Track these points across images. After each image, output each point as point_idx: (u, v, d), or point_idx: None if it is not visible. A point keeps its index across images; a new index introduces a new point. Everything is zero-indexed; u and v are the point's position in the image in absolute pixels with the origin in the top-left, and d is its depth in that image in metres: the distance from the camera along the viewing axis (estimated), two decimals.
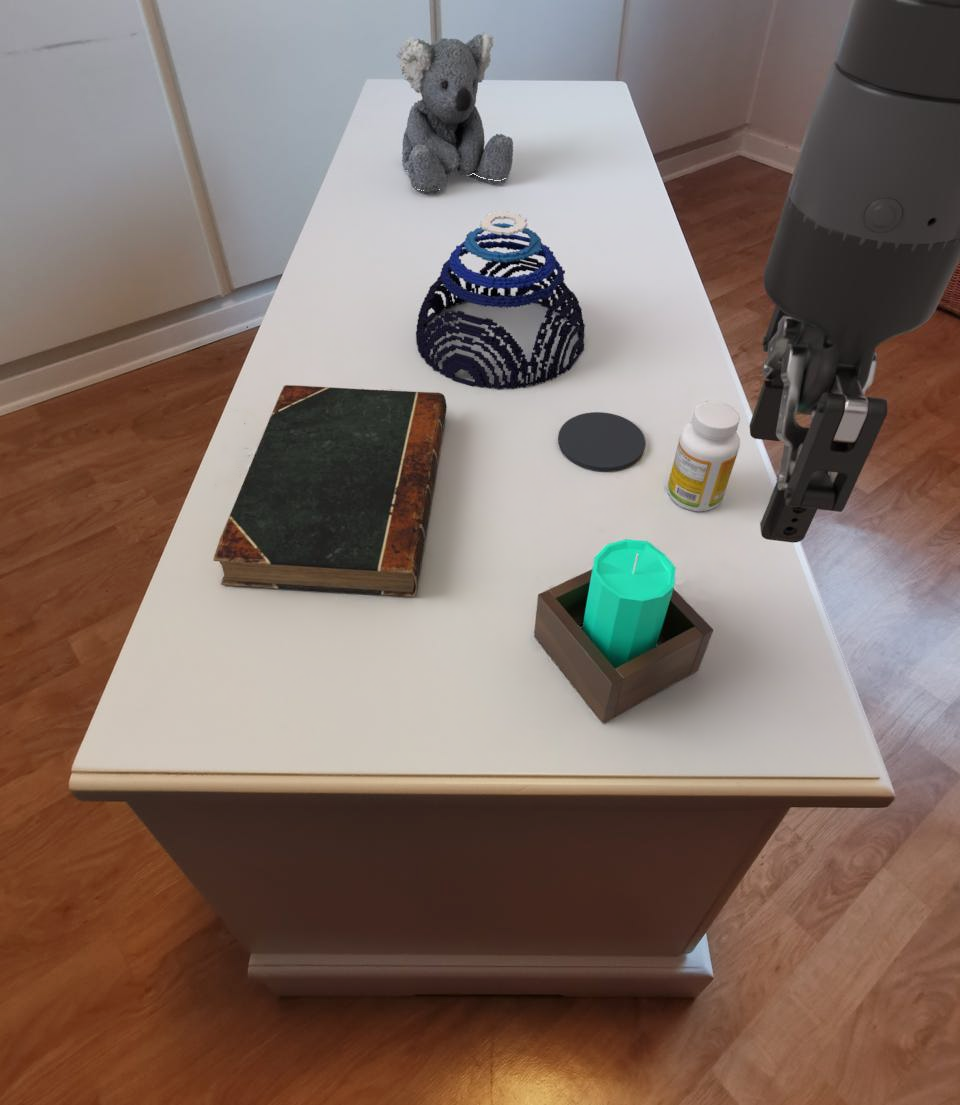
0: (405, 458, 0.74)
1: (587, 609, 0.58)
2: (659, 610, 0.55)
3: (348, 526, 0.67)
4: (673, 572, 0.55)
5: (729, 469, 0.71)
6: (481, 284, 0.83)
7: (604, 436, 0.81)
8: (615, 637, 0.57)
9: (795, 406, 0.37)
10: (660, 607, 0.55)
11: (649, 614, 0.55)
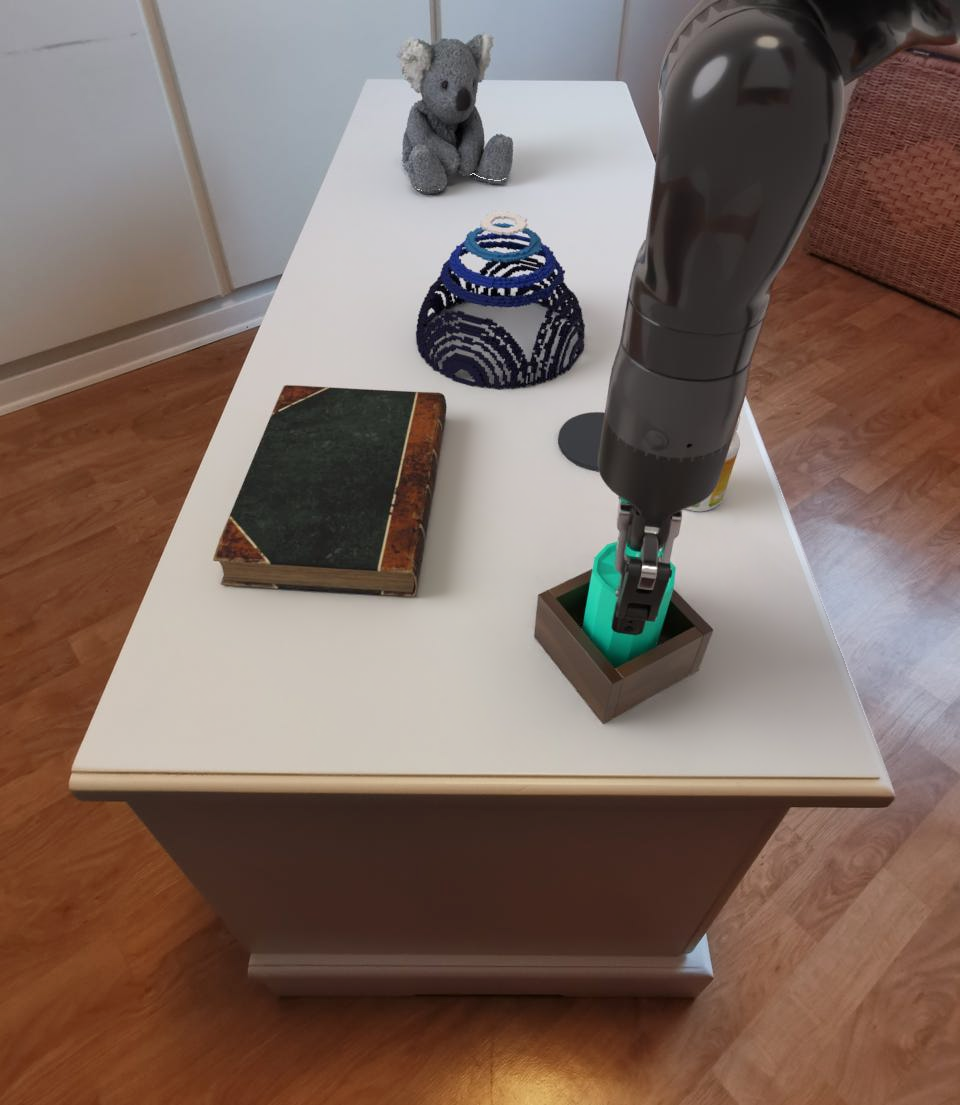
0: (405, 458, 0.74)
1: (587, 609, 0.58)
2: (659, 610, 0.55)
3: (348, 526, 0.67)
4: (673, 572, 0.55)
5: (729, 469, 0.71)
6: (481, 284, 0.83)
7: None
8: (615, 637, 0.57)
9: (624, 548, 0.50)
10: (660, 607, 0.55)
11: None
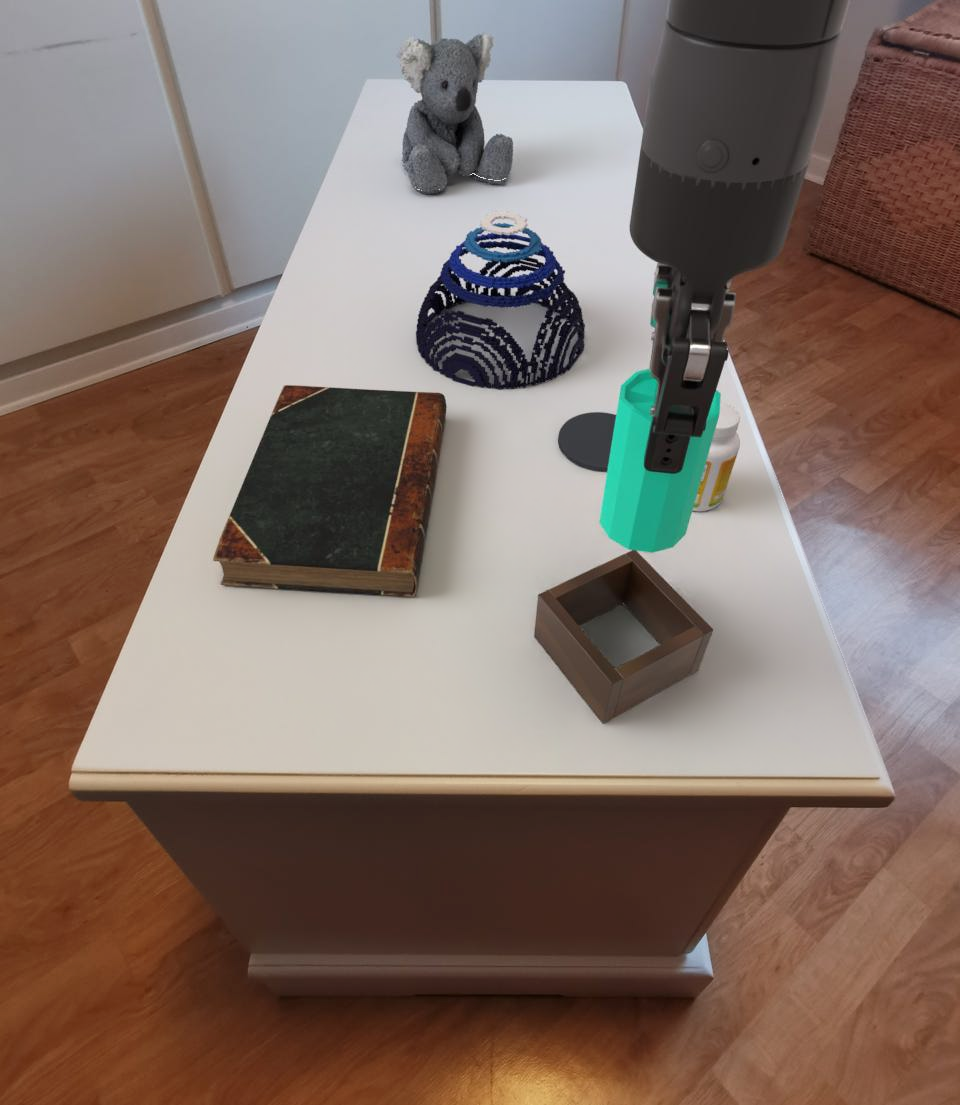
0: (405, 458, 0.74)
1: (612, 454, 0.48)
2: (701, 444, 0.45)
3: (348, 526, 0.67)
4: (718, 398, 0.45)
5: (729, 469, 0.71)
6: (481, 284, 0.83)
7: (604, 436, 0.81)
8: (647, 483, 0.47)
9: (662, 346, 0.40)
10: (703, 439, 0.45)
11: (689, 448, 0.45)
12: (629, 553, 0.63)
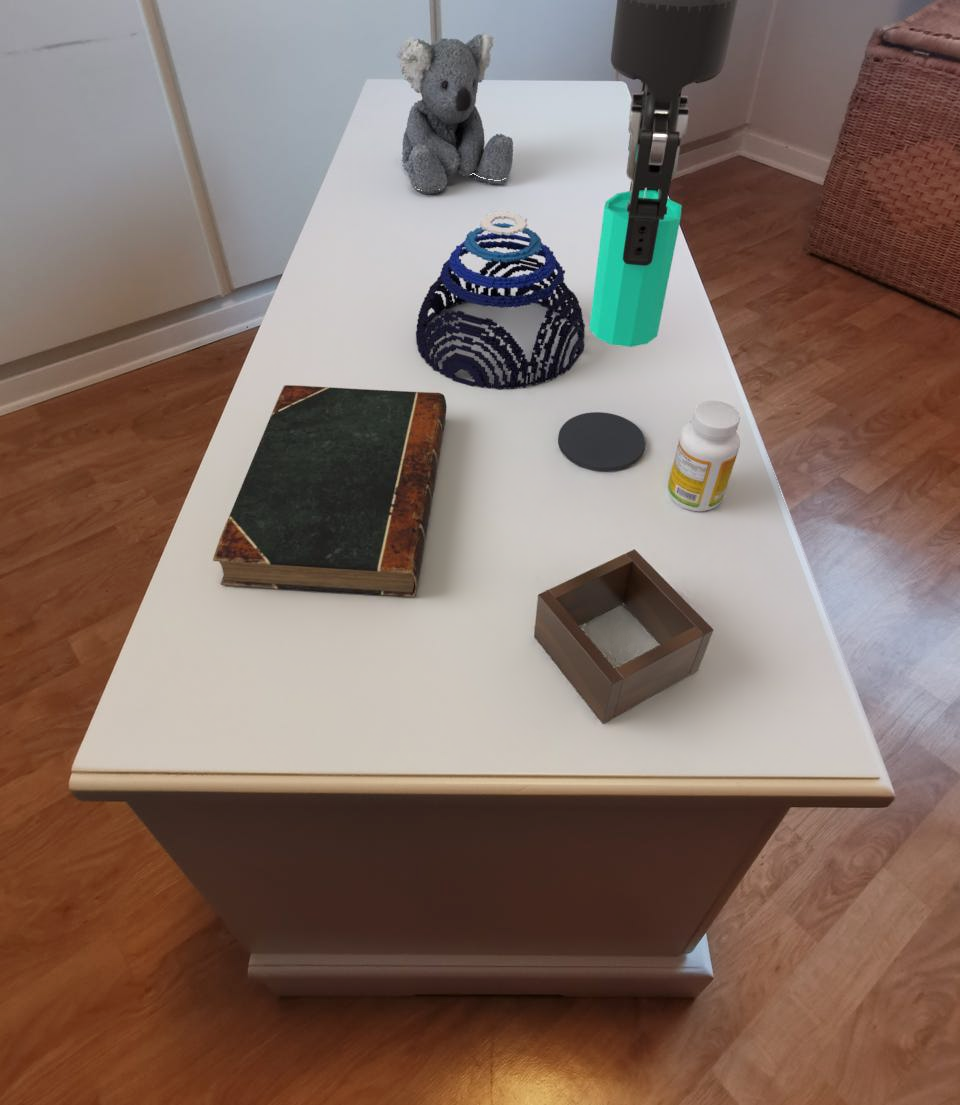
0: (405, 458, 0.74)
1: (598, 260, 0.62)
2: (666, 242, 0.59)
3: (348, 526, 0.67)
4: (679, 208, 0.59)
5: (729, 469, 0.71)
6: (481, 284, 0.83)
7: (604, 436, 0.81)
8: (625, 279, 0.60)
9: (635, 151, 0.54)
10: (667, 238, 0.58)
11: (657, 245, 0.58)
12: (629, 553, 0.63)
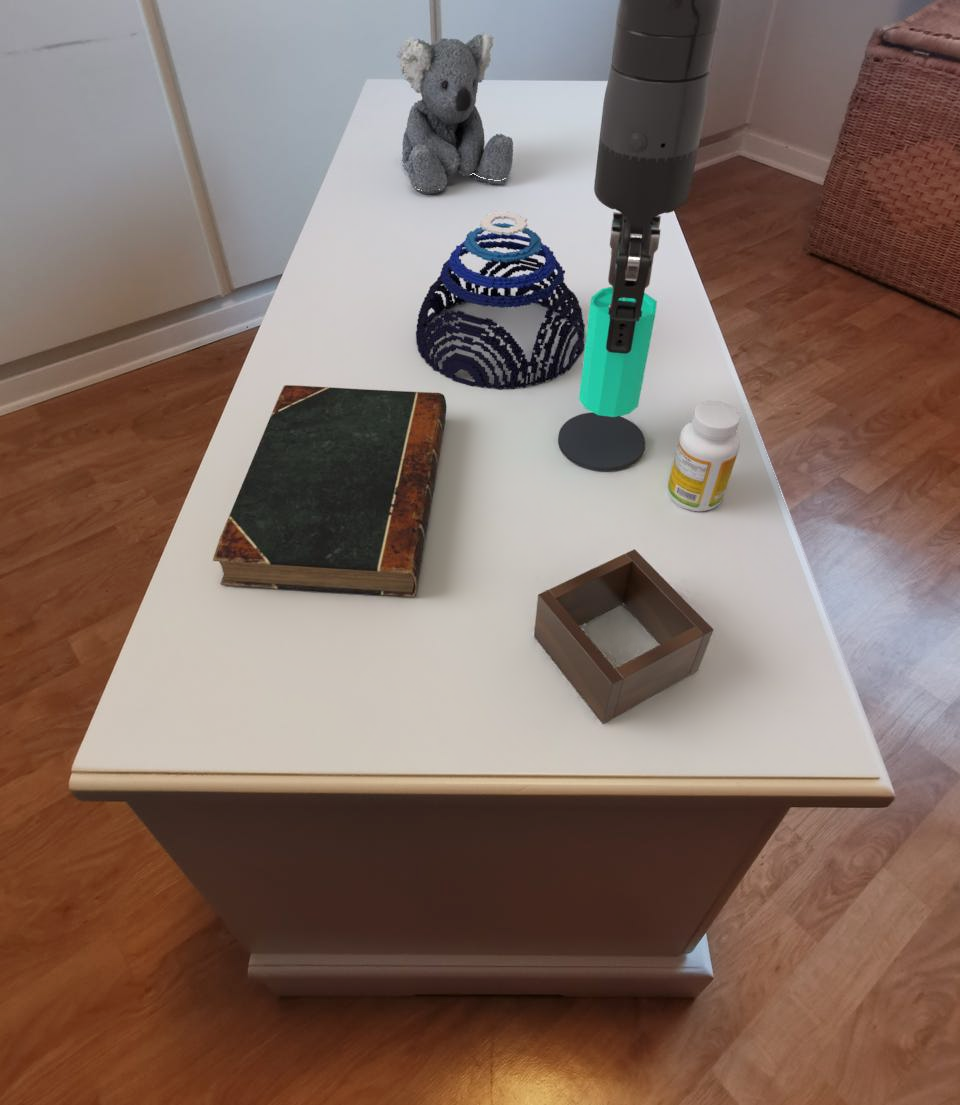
0: (405, 458, 0.74)
1: (586, 345, 0.72)
2: (643, 333, 0.68)
3: (348, 526, 0.67)
4: (655, 304, 0.69)
5: (729, 469, 0.71)
6: (481, 284, 0.83)
7: (604, 436, 0.81)
8: (608, 362, 0.70)
9: (615, 264, 0.63)
10: (644, 330, 0.68)
11: (635, 336, 0.68)
12: (629, 553, 0.63)
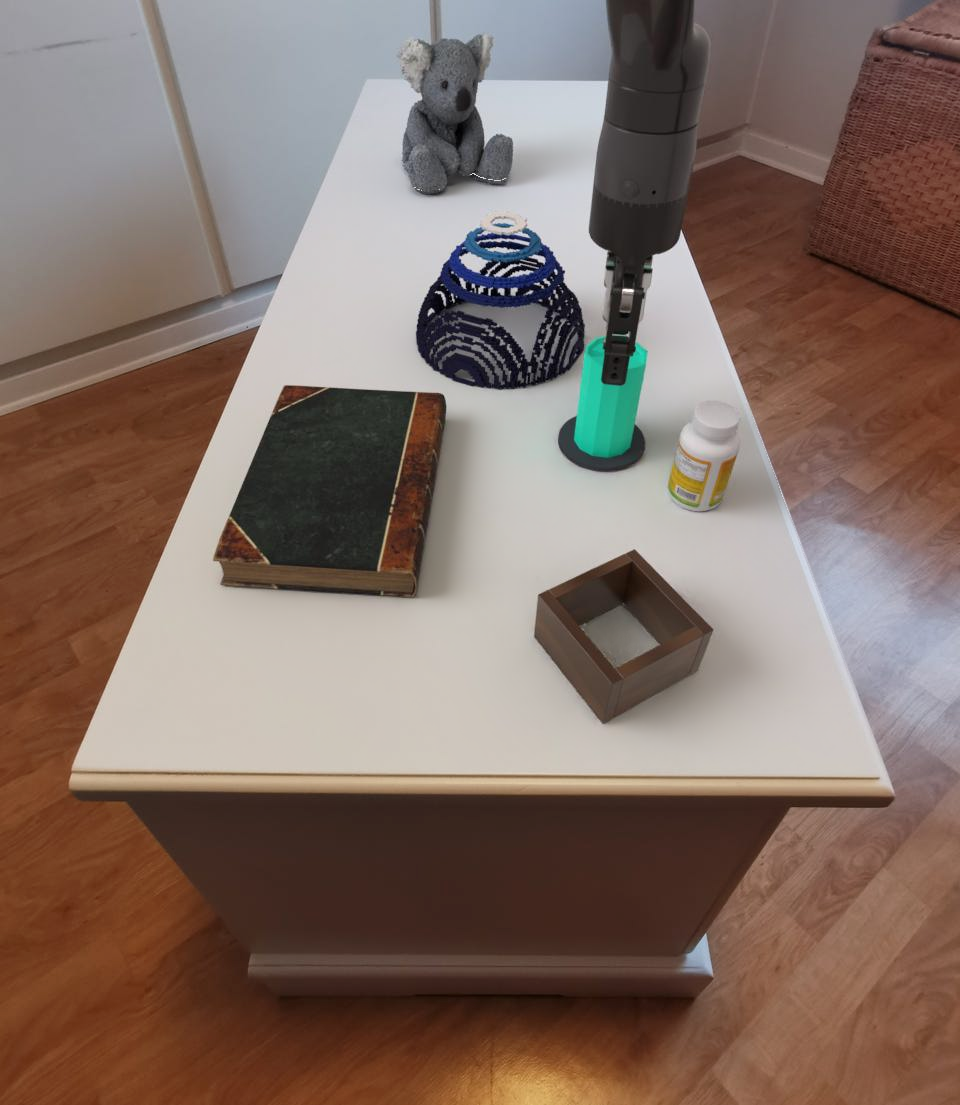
0: (405, 458, 0.74)
1: (580, 391, 0.75)
2: (635, 382, 0.72)
3: (348, 526, 0.67)
4: (645, 354, 0.72)
5: (729, 469, 0.71)
6: (481, 284, 0.83)
7: None
8: (602, 408, 0.74)
9: (609, 299, 0.66)
10: (635, 379, 0.72)
11: (627, 384, 0.72)
12: (629, 553, 0.63)
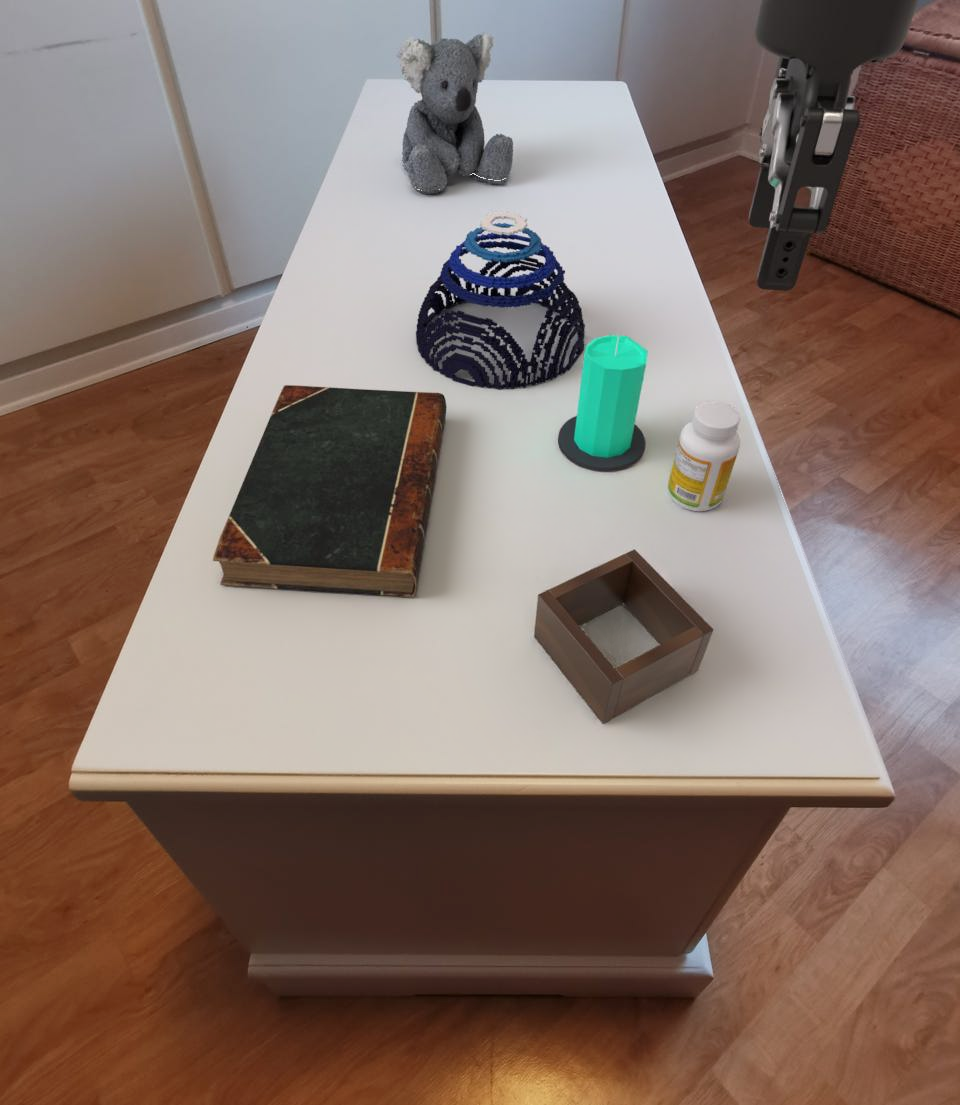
0: (405, 458, 0.74)
1: (580, 391, 0.75)
2: (635, 382, 0.72)
3: (347, 526, 0.67)
4: (645, 354, 0.72)
5: (729, 469, 0.71)
6: (481, 284, 0.83)
7: None
8: (602, 408, 0.74)
9: (784, 147, 0.42)
10: (635, 379, 0.72)
11: (627, 384, 0.72)
12: (629, 553, 0.63)
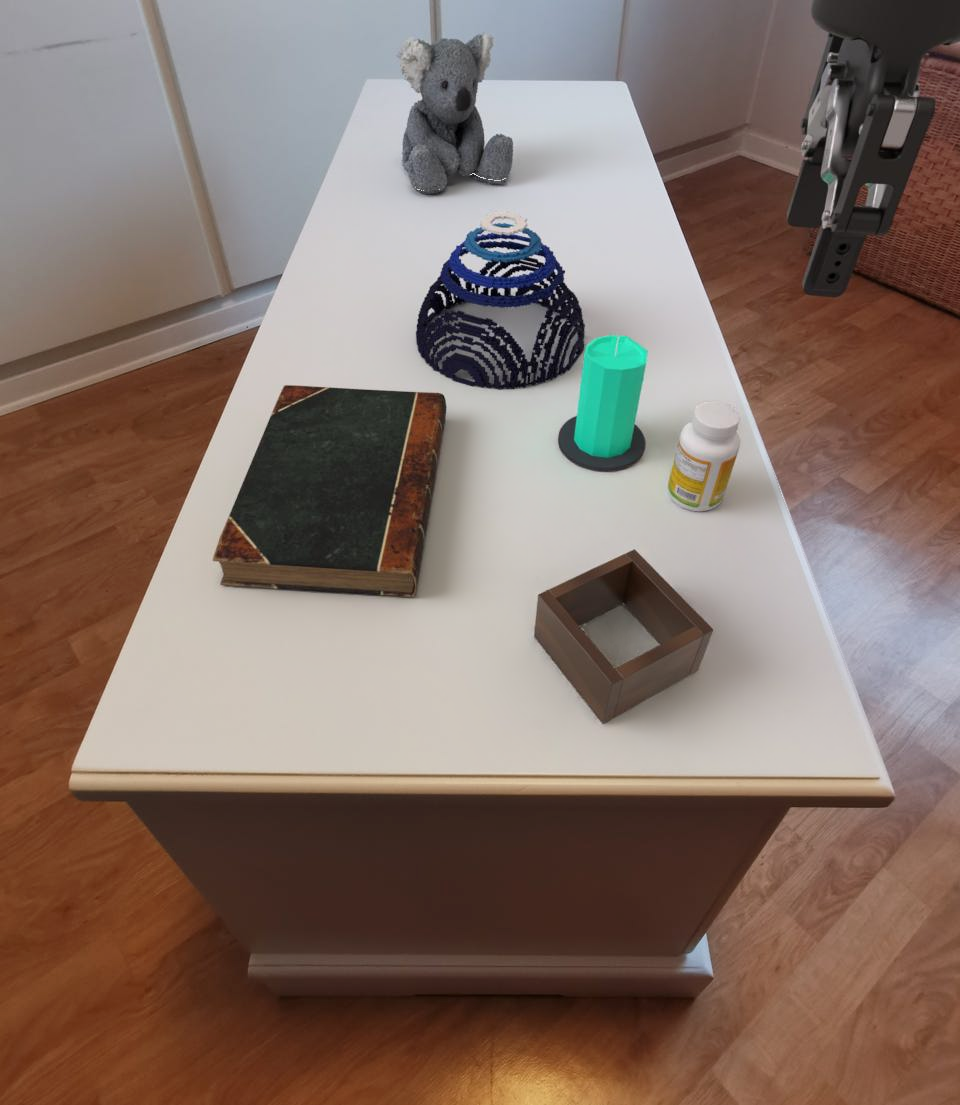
0: (405, 458, 0.74)
1: (580, 391, 0.75)
2: (635, 382, 0.72)
3: (347, 526, 0.67)
4: (645, 354, 0.72)
5: (729, 469, 0.71)
6: (481, 284, 0.83)
7: None
8: (602, 408, 0.74)
9: (841, 138, 0.38)
10: (635, 379, 0.72)
11: (627, 384, 0.72)
12: (629, 553, 0.63)
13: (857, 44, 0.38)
